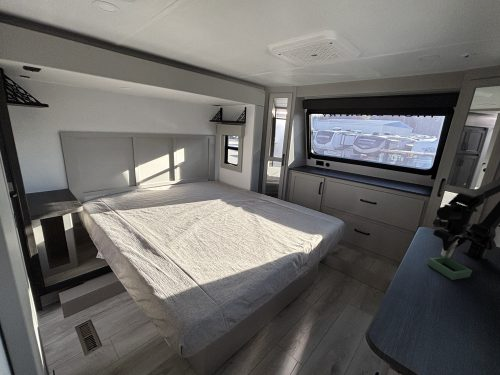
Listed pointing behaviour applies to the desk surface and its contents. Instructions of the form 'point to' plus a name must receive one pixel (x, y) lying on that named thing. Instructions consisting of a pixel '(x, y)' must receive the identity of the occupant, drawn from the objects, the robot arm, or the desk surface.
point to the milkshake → (449, 250)
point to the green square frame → (460, 273)
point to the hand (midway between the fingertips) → (448, 249)
